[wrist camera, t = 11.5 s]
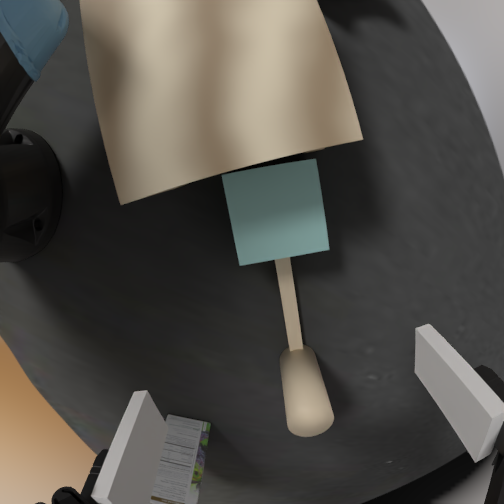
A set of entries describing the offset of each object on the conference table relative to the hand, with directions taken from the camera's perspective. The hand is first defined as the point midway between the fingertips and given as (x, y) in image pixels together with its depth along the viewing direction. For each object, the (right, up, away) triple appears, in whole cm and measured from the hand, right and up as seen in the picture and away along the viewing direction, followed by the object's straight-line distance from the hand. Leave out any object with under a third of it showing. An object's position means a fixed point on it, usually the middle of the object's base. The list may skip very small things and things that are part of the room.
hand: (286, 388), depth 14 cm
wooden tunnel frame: (-5, +22, +13) cm, 26 cm away
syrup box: (-10, -17, +23) cm, 31 cm away
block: (+2, +3, +18) cm, 18 cm away
